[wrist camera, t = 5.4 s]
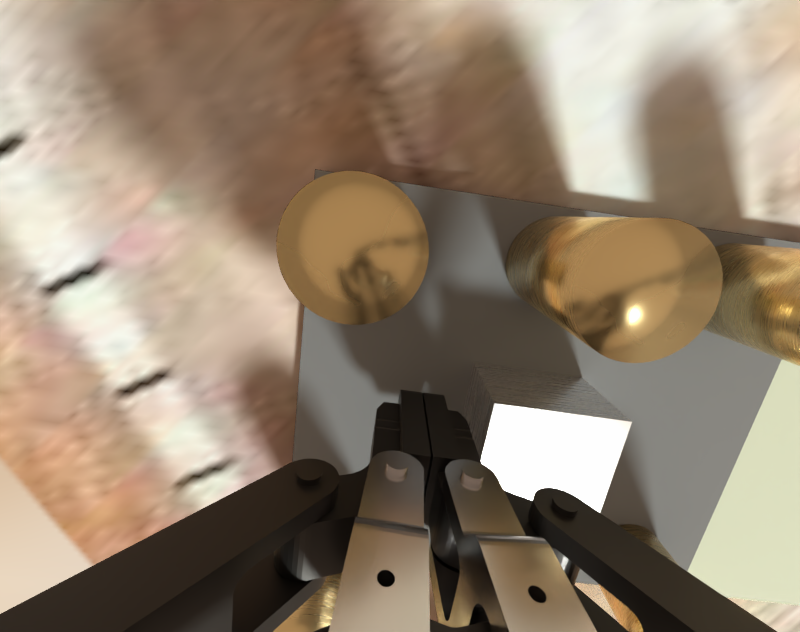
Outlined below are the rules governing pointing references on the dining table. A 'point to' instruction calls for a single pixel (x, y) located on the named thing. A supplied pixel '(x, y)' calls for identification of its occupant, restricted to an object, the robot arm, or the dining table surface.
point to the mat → (617, 381)
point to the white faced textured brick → (544, 431)
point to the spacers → (542, 290)
